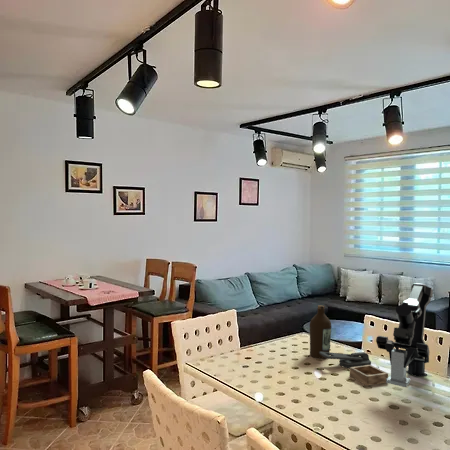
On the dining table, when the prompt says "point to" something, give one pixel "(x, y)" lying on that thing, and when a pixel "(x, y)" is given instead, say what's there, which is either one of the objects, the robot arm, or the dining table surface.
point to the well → (368, 375)
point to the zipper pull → (349, 358)
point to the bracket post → (398, 368)
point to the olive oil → (320, 334)
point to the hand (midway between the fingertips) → (397, 365)
